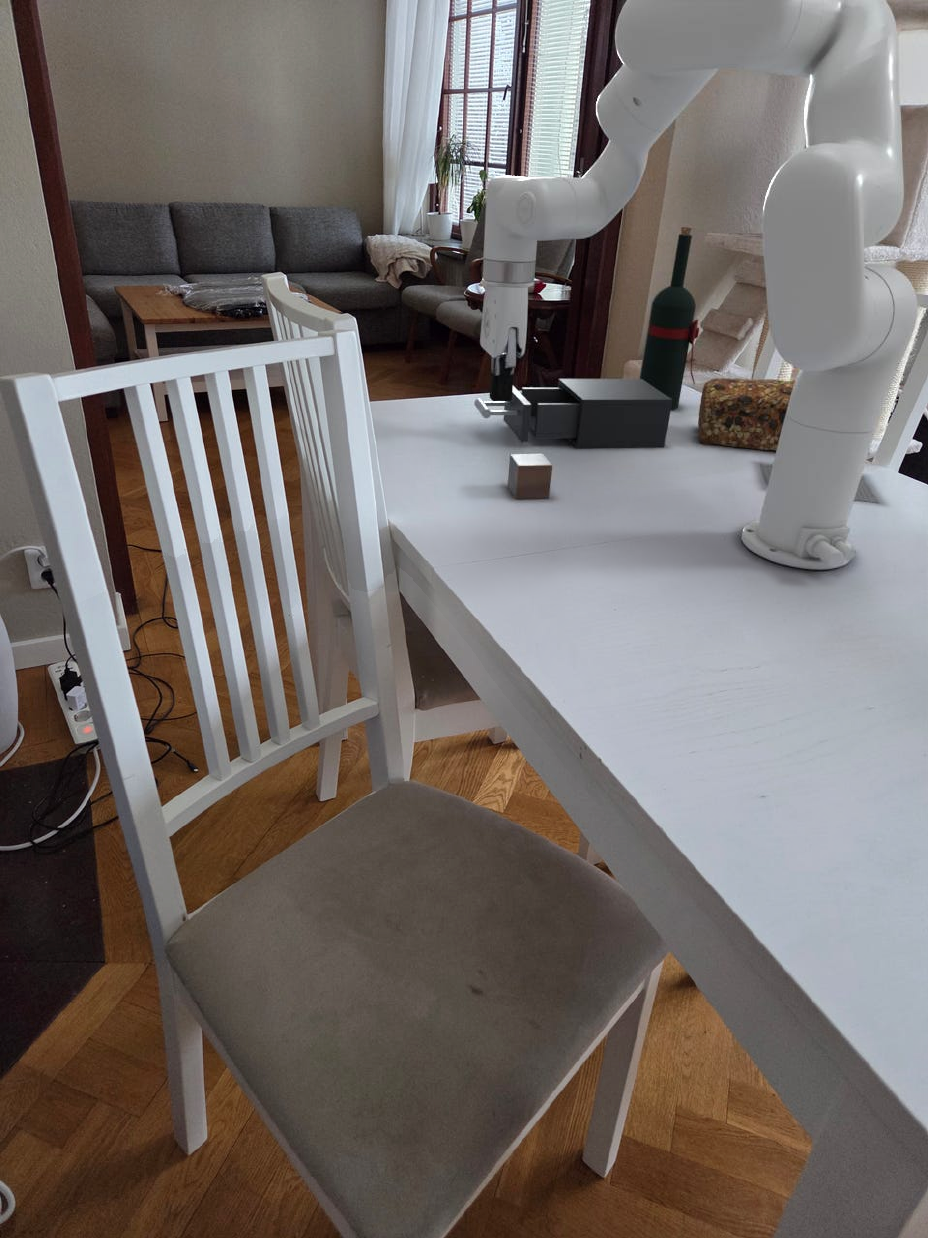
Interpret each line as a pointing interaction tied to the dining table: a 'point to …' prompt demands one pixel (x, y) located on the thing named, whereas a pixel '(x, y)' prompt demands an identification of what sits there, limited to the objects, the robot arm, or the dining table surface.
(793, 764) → the dining table surface
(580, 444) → the cabinet
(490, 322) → the robot arm
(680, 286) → the wine bottle
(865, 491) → the architectural model
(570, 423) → the drawer
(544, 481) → the block
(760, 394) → the bread
